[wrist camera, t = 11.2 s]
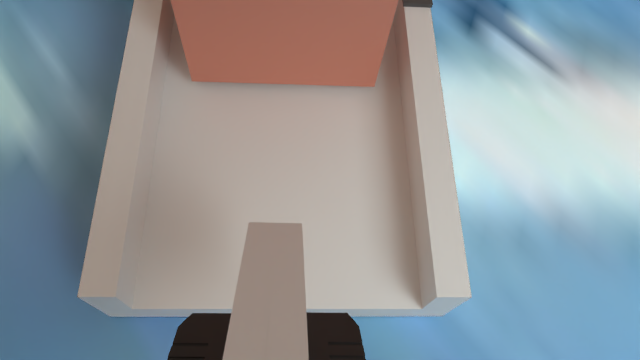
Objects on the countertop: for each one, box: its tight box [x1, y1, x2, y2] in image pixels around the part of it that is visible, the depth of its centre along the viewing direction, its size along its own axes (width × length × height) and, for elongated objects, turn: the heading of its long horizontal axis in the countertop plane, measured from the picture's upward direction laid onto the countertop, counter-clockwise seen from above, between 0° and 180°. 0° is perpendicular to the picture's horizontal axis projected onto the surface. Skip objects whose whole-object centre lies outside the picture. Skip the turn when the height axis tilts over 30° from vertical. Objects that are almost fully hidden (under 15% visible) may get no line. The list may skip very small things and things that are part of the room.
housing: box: [77, 0, 471, 317], centre depth 21 cm, size 22×13×8 cm, turn 1°
